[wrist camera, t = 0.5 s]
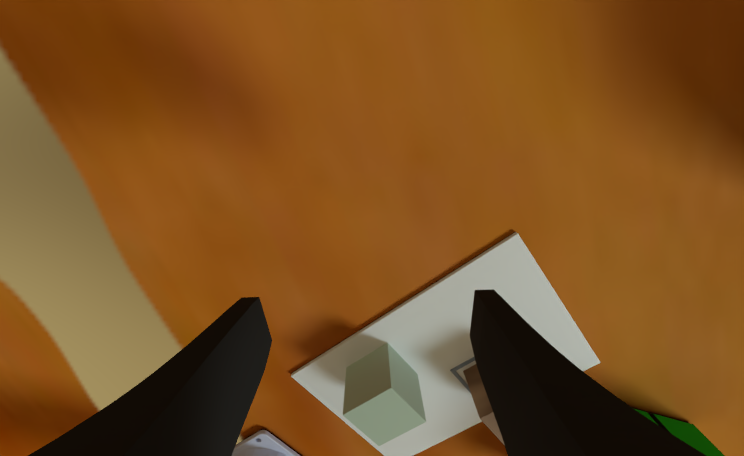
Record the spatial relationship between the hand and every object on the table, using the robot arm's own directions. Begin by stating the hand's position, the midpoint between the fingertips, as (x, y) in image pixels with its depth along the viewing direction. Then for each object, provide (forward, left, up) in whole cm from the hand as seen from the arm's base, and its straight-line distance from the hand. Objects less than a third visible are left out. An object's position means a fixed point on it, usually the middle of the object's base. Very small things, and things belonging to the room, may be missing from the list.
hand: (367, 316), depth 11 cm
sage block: (-7, -11, -10) cm, 16 cm away
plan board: (-3, -14, -10) cm, 17 cm away
